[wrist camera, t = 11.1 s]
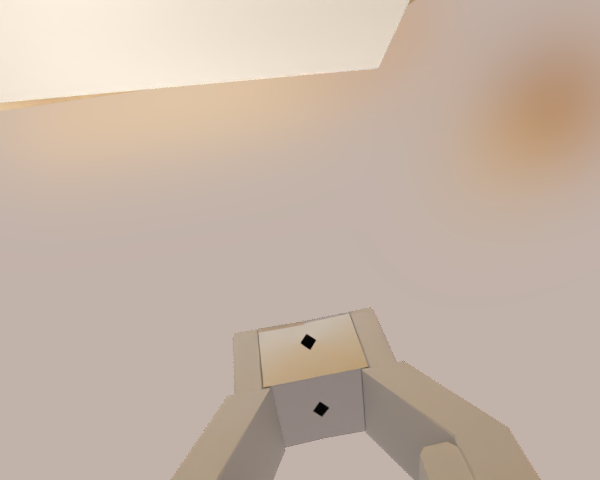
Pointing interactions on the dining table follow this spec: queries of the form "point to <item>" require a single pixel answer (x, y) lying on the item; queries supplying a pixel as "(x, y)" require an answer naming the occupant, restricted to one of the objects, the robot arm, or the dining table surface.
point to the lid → (183, 42)
